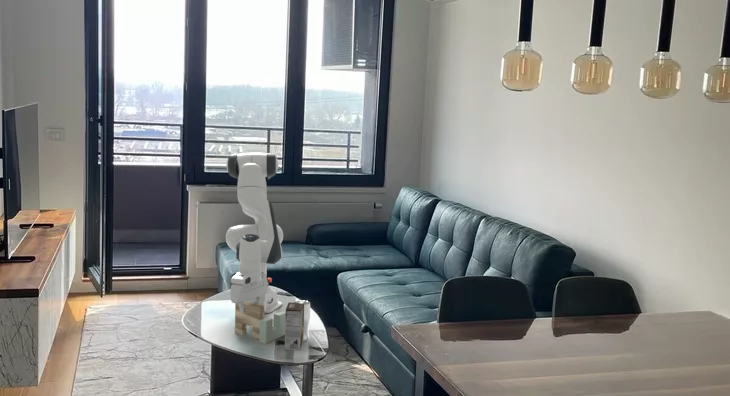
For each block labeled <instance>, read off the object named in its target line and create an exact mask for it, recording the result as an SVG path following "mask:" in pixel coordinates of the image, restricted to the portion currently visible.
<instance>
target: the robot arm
mask: <svg viewBox="0 0 730 396" xmlns="http://www.w3.org/2000/svg"><path fill="white" fill-rule="evenodd" d="M225 165H226V171H227V172H228V175H229V176H230V177H232V178H234V179H237V184H236V185H237V192H236V193H237V202H238V203H239V205H240V206H241V211H242V212H243V214H245V215H246V216H248V217H250V218H253V220H254V222H255V223H254V224H238V225H234V226H230V227H229V228H228V230H227V231H226V233H225V242H226V244H227V246H228V247H229V248H230V249H231V250H232V251H234V252H235V253H236V254H235V255H236V256H235V259H236V260H238V262H239V267H238V271H237V272H236V273H235V274H234V275H233V276H232V277H231V278H230V283H231V286H230V301H231V304H235V303H236V304H238V306H239V308H240V312H241V313H243V312H245V308H244V306H243V304H244V302H250V303H255V304H260V305H264V314H271V313H272V312H274V311H275V310H277V309H279V308H280V307H281V306H283V302H282V301H280V300H278V292H277V291H275V290H274V289H273V288H272V287H270V283H272V280H273V278H272V277H267V273H268V272H267V267H268V265H267V264H269V265H276V264H277V263H278V262H279V261H280V260H282V257H283V249H282V245H281V244H282V242H283V240H284V231H283V229H282V228H281V226H279V224H277V220H276V215H275V211H274V205H273V203H272V201H270V200H268V193H267V192H268V191H267V190H268V188H267V187H268V186H267V181H266V180H270V179H271V178H273V177H275V175H277V172H278V169H279V159H278V158H277V156H276V155H275V153H270V152H267V153H266V152H258V151H257V152H256V151H255V152H254V151H253V152H243V153H242V152H241V153H232V154H230V155H229V156H228V159H227V161H226V164H225ZM266 178H267V179H266Z"/></svg>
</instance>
